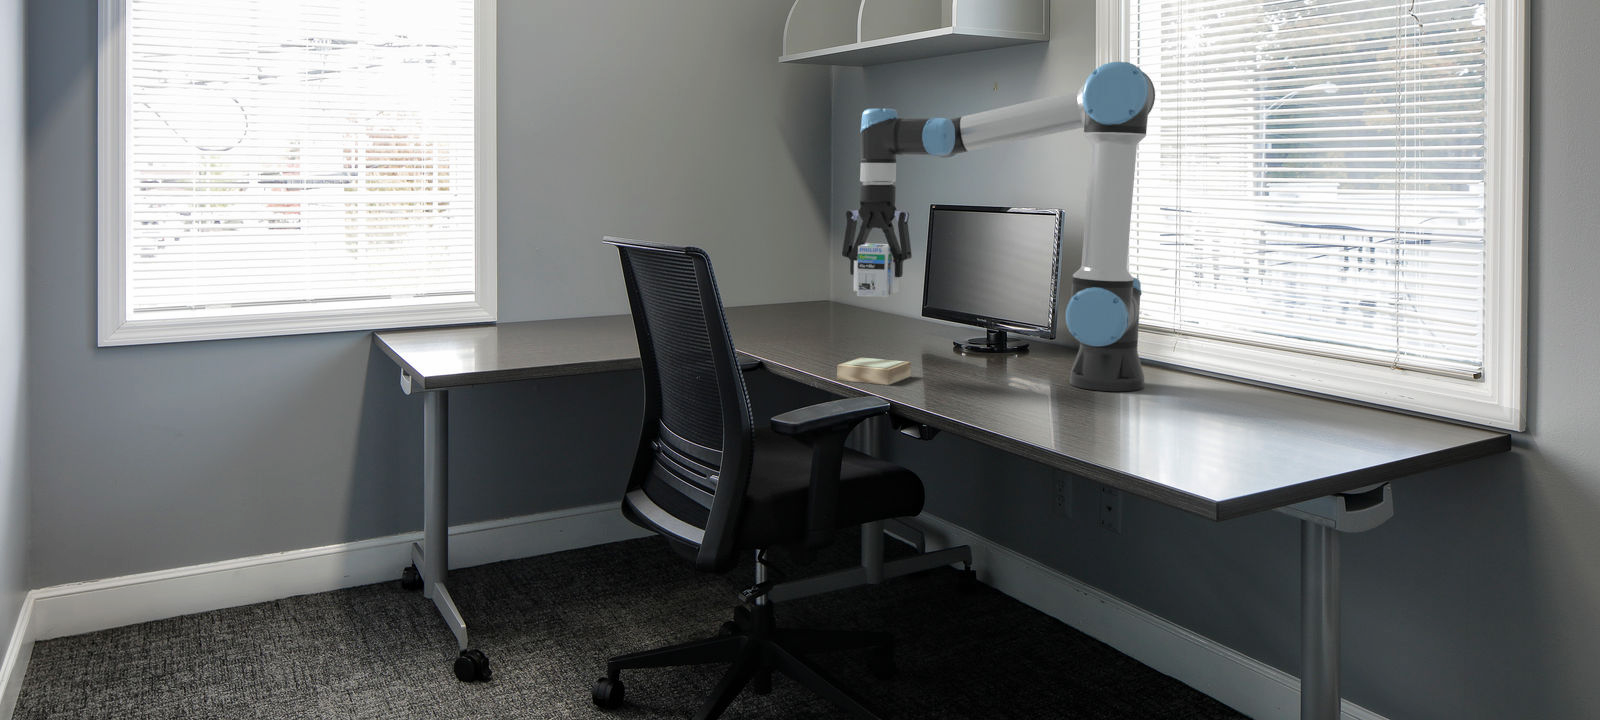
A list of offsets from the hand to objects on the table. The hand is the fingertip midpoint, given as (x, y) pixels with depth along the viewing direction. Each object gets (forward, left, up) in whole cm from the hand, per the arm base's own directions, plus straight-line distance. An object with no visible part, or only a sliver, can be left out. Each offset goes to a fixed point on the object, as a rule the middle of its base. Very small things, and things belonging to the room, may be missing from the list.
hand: (875, 291), depth 240 cm
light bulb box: (0, 0, -1) cm, 1 cm away
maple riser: (0, 0, -19) cm, 19 cm away
